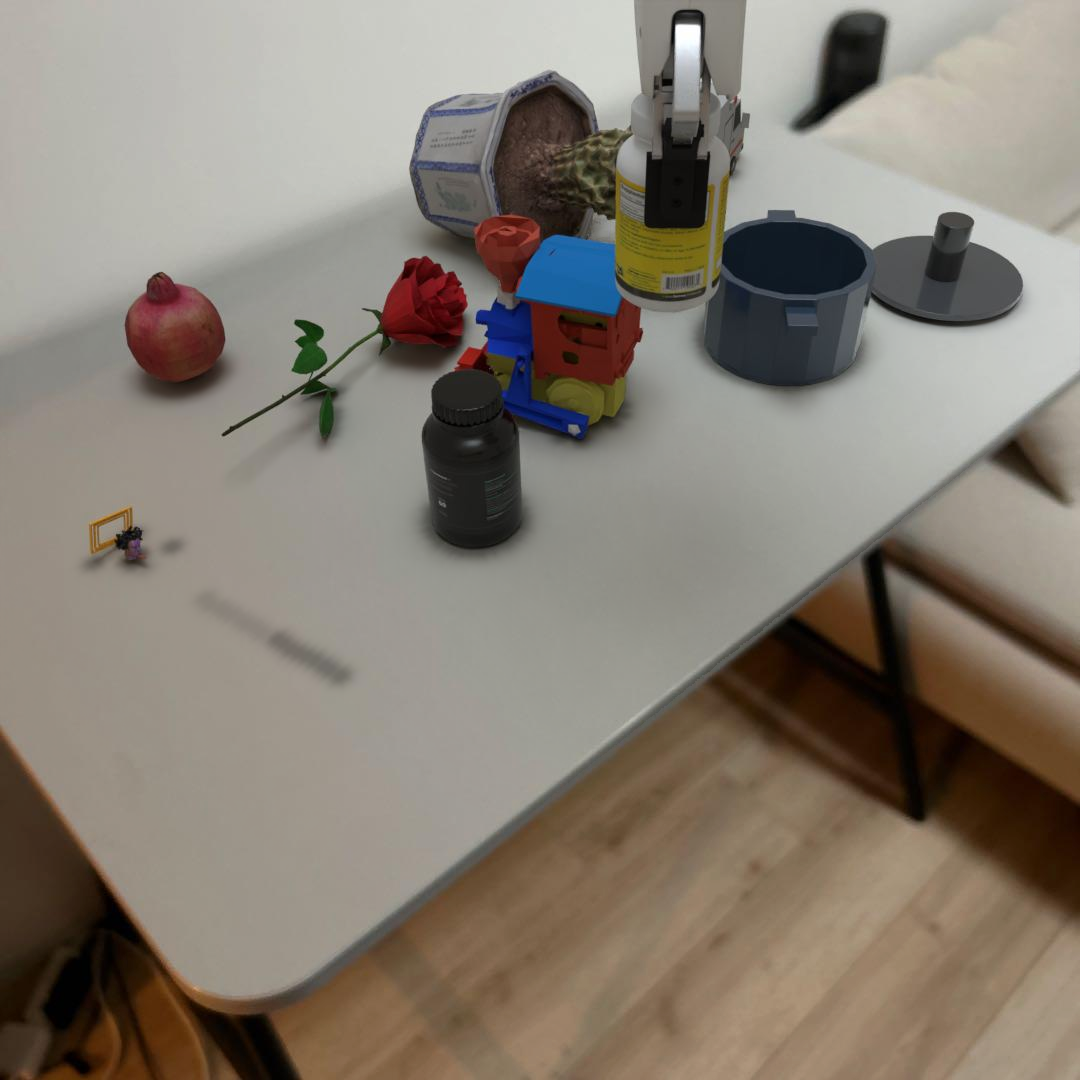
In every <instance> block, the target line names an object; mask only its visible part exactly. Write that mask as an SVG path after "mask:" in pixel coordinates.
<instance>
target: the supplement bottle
mask: <svg viewBox="0 0 1080 1080" xmlns="http://www.w3.org/2000/svg"><path fill="white" fill-rule="evenodd" d="M430 390H431V391H430V394H431V395H430V396H431V397H430V399H431V413H430V414H429V415H428V416H427V418H426V420H425V422H424V424H423V426H422V429H421V446H422V447H421V448H422V454H423V462H424V470H425V479H426V487H427V494H428V501H429V509H430V517H431V520H432V524H433V527H434V528H435V530H436V532H437V533H438V534H439V535H440V536H441V537H442V538H444V539H445V540H447V541H449V542H450V543H453V544H455V545H457V546H462V547H467V548H483V547H488V546H492V545H495V544H498V543H500V542H502V541H504V540H505V539H507V538H509V537H510V536H511V535H513V534H514V532H515V531H516V530H517V528H518V527H519V526H520V523H521V522H522V517H523V491H522V490H523V489H522V488H523V487H522V471H521V470H522V469H521V451H520V450H521V448H520V447H521V444H520V431H519V425H518V422H517V420H516V418H515V417H514V414H513V413H510V412H509V411H508V410H507V409H506V408H505V407H504V400H503V397H502V387H501V384H500V381H499V380H497V378H496V377H494V376H493V374H489V373H488V372H484V371H482V370H477V369H461V370H455V369H454V370H452V371H449V372H447V373H444V374H443V375H442V376H440V377H438V379H437V380H435V381H434V384H432V388H431V389H430Z"/></svg>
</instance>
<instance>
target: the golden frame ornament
mask: <svg viewBox="0 0 1080 1080" xmlns="http://www.w3.org/2000/svg"><path fill="white" fill-rule="evenodd" d="M133 517H134V516H133V506H131V505H130V506H127V507H125V508H122V509H120V510H118V511H116V512H113V513H111V514H108V515H105V516H104V517H102V518H98V519H97V520H94V521H92V522H90V523H88V527H89V528H88V533H89V534H88V535H89V551H90V552H89V554H91V555H94V554H96V553H99V552H100V551H103V550H105V549H108V548H110V547H112V546H114V545H115V547H116V548H117V549H118V551H120V550H122V551H124V555H125V557H126V558H127V559H128V560H129V561H132V560H136V559H137V558H140V559H142V560H146V559H147V557H146V556H145V555H143V554H142V553H141V551H142V549H141V548H142V547H141V542H143V537H142V536H143V532H144V530H143V529H141V528H140V527H138V526H134V524H133V523H134V521H133V520H134V519H133ZM121 518H123V519H122V520H123V529H122V530H120V531H121V533H116V534H115V536H114V537H111V538H110V539H107V540H105V541H103V542H100V528H101V527H102V526H104V525H106V524H109V523H111V522H114V521H115V520H118V519H121Z"/></svg>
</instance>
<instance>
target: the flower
mask: <svg viewBox="0 0 1080 1080" xmlns="http://www.w3.org/2000/svg"><path fill="white" fill-rule="evenodd" d="M462 285H463V283H462V281H460V280H459V277H458V276H457V274H456V272H455V271H454V270H453V271H447V272H445V271H444V269H443V267H442V264H441V263H439V262H436V263H435V262H434V261H433V260H432V258H430V257H429V256H428V255H423V256H421V258H418V257H411V258H409V259H407V260H404V261H403V269H402V272H401V273H400V274H399V275H398V277H397V279H396V280H395V282H394V284H393V285H392V286H391V288H390V290H389V291H388V293H387V296H386V299H385V302H384V305H383V309H382V312H381V310H380V311H379V310H378V309H372V308H366V307H362V308H361V310H363V311H364V312H368V313H369V312H370V313H372V314H373V315H374V316H375V318H376V319H377V321H378V325H377V328H376V330H374V331H372V332H370V333H369V334H367V335H366V336H364V337H362V338H361V339H359V340H357V341H356V342H355V343H354V344H352V345H351V346H350V347H348V349H347V350H346V351H345V352H343V353H342V354H341V355H340V356H339V357H338V358H337V359H336V360H335V361H334V362H332V363H331V364H330V365H329V366H327V367H326V368H325V369H324V370H323V371H321V372H320V373H319V374H317V375H316V376H314V377H313V375H314V372H317V371H319V370H320V369H321V368H323V367H325V366H326V364H327V363H328V355H327V353H326V351H325V350H324V349H323V348H322V347H321V346H319V345H318V342H320V341H321V340H322V339H323V338H324V336H325V330H324V329H323V327H322V326H320V325H319V324H317V323H315V322H312V321H310V320H307V319H295V320H294V321H293V324H294V325H295V326H296V327H297V328H298V329H300V330H302V331H303V333H304V334H305V335H301V336H299V337H298V338H297V339H296V340H294V342H295V343H296V345H297V346H298V347H299V348H300V349H301V350H300V351H299V352H298V355H297V356H296V358H295V360H294V363H293V366H292V368H291V369H290V371H291V372H293V373H295V374H299V375H308V374H310V376H309V378H308V380H307V381H306V382H305V383H303V384H301V385H299V386H298V387H297V388H295V389H294V390H292V391H291V392H289V393H287V394H286V395H284V394H282V395H281V398H279V399H278V400H276V401H275V402H273V403H271V404H270V405H268V406H266V407H264V408H262V409H261V410H259V411H257V412H255V413H253V414H251V415H250V416H248V417H246V418H244V419H243V420H241V421H239V422H237V423H236V424H234V425H229V428H228V429H226V430H224V432H222V433H221V437H226V436H228V435H230V434H231V433H234V432H235V431H236V430H237V429H240V428H241V427H243V426H245V425H246V424H248V423H250V422H252V421H253V420H255V419H257V418H258V417H261V416H262V415H264V414H265V413H267V412H269V411H271V410H273V409H275V408H276V407H279V406H280V405H282V404H283V403H285V402H286V401H288V400H289V399H290V398H292V397H294V396H295V395H297V394H298V393H300V396H303V395H310V394H314V393H315V394H316V393H317V392H320V391H324V390H327V392H326V395H325V397H324V399H323V401H322V403H321V406H320V409H319V415H318V416H319V417H318V418H319V419H318V420H319V421H318V428H319V429H318V430H319V432H320V435H321V437H322V438H324V437H327V435H328V434H329V433H330V432H331V430H332V428H333V425H334V418H335V412H334V404H333V403H334V402H333V400H332V397H331V393H334V391H338V390H339V388H337V387H331V386H329V385H327V384H325V383H323V382H322V381H320V379H322V378H323V377H327V374H329V373H330V372H331V371H332V370H333V369H334V368H336V366H338V365H339V364H340V363H341V362H342V361H344V360H345V359H346V358H347V357H348V356H349V355H350V354H351V353H352V352H353V351H354V350H355V349H357V348H358V347H359V346H361V345H363V344H364V343H365V342H367V341H368V340H370V339H372V338H373V337H374V336H376V335H378V334H379V335H382V340H381V345H380V349H379V353H378V356H379V357H380V356H381V355H382V354H383V352H385V351H387V350H388V349H389V348H390V347H391V345H392V341H391V339H392V340H395V341H398V342H403V343H406V344H413V345H428V344H429V345H430V344H435V345H437V346H440V347H441V348H443V349H445V347H446V346H448V347H456V346H457V345H458V343H459V338H458V337H457V336H463V328H464V313H465V311H466V309H467V308H468V301H467V297H468V296H467V294H466V293H465V289H464V288H463V286H462ZM461 286H462V287H461ZM312 377H313V378H312Z"/></svg>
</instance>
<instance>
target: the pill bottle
mask: <svg viewBox="0 0 1080 1080" xmlns="http://www.w3.org/2000/svg"><path fill="white" fill-rule="evenodd" d="M662 91H673V86H664V87H662ZM700 91H701V89H700ZM653 94H654V93H653ZM710 94H711V100H710V111H709V132H708V151H710V167H709V179H708V191H707V203H706V215H705V223H704V225H703V226H702V227H700V228H648V227H646V226H645V224H644V204H645V179H646V154H647V152H652V130H653V100H650V99H649V98H647V97H646V96H645V95H644V94H643V93H642V92H640V93H639V94H637V95H636V96H635V97H634V98H633V99H632V101H631V105H630V106H631V109H630V124H631V131H632V133H633V135H632V136H631V137H629V138H628V139H627V140H626V141H625V142H624V143H623V145H622V146H621V148H620V150H619V152H618V156H617V163H616V219H615V225H614V227H615V228H614V231H615V233H614V234H615V235H614V240H615V241H614V244H615V283H616V287H617V289H618V291H619V293H620V294H621V295H622V296H623V297H624V298H625V299H626V300H627V301H629V302H630V303H632V304H634V305H636V306H638V307H641V309H644V310H646V311H651V312H656V313H679V312H684V311H689V310H692V309H695V308H698V307H701V306H702V305H704V304H706V302H707V301H708V300H710V299H711V298H712V297H713V296H714V294H715V293H716V291H717V289H718V286H719V281H720V273H721V262H722V250H723V238H724V232H725V227H726V226H725V225H726V214H727V204H728V194H729V183H730V174H729V173H730V156H729V152H728V150H727V148H726V146H725V145H724V143H723V142H722V141H721V140H720V139H719V138H718V137H716V134H717V133H718V131H719V126H720V113H721V103H720V100H719V99H718V97H717V96H715V95H714V94H713V93H711V92H710ZM671 111H672V105H664V124H665V121H666V118H671Z"/></svg>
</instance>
